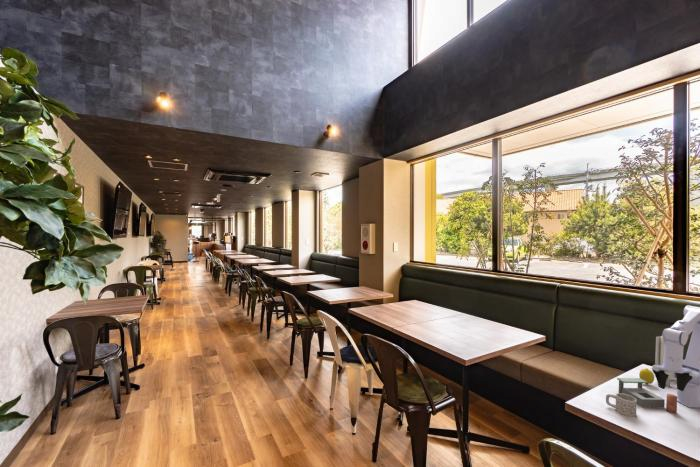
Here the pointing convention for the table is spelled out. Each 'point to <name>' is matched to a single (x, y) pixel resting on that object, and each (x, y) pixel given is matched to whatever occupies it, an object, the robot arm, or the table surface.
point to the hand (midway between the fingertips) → (670, 389)
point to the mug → (623, 404)
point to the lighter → (666, 380)
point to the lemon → (646, 376)
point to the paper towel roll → (661, 355)
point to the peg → (671, 403)
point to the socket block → (640, 393)
